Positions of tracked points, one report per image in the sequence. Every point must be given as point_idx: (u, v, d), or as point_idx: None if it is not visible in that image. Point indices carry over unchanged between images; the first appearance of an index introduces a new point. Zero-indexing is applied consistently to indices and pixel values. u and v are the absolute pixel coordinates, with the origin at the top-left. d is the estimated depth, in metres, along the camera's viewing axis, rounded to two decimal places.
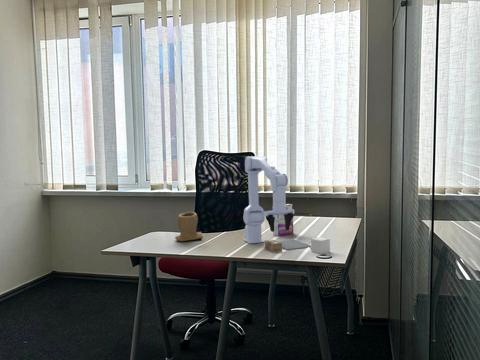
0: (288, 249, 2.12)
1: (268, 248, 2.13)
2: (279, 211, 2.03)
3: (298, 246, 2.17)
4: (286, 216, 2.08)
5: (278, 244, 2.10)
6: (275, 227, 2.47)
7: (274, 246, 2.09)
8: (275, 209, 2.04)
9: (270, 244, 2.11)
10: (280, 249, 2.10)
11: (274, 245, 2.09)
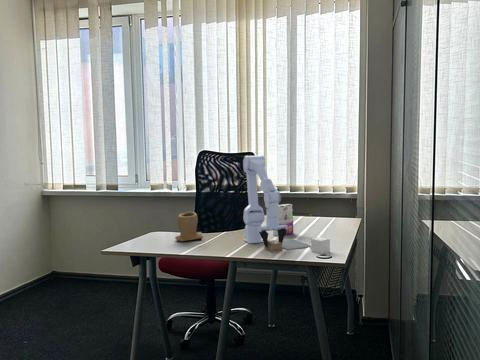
0: (288, 249, 2.12)
1: (268, 248, 2.13)
2: (272, 227, 2.10)
3: (298, 246, 2.17)
4: (279, 231, 2.15)
5: (278, 244, 2.09)
6: None
7: (274, 246, 2.09)
8: (268, 225, 2.11)
9: (270, 244, 2.11)
10: (280, 249, 2.10)
11: (274, 245, 2.09)
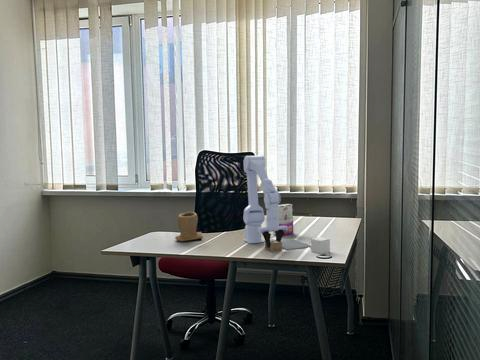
0: (288, 249, 2.12)
1: (268, 248, 2.13)
2: (272, 228, 2.10)
3: (298, 246, 2.17)
4: (277, 233, 2.14)
5: (278, 244, 2.09)
6: None
7: (274, 245, 2.09)
8: (268, 226, 2.11)
9: (270, 244, 2.11)
10: (280, 249, 2.10)
11: (274, 245, 2.09)
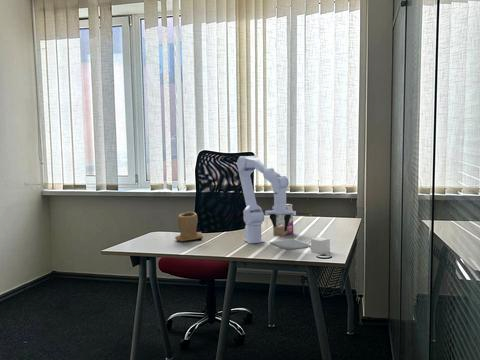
0: (288, 249, 2.12)
1: None
2: (276, 211, 2.14)
3: (298, 246, 2.17)
4: None
5: (279, 228, 2.13)
6: None
7: (274, 230, 2.13)
8: (274, 209, 2.16)
9: None
10: (281, 234, 2.12)
11: (275, 229, 2.13)
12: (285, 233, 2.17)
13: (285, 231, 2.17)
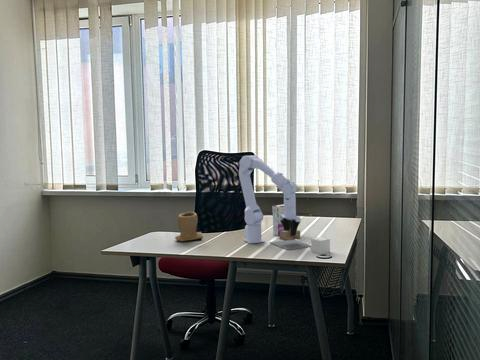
0: (288, 249, 2.12)
1: None
2: (283, 216, 2.22)
3: (298, 246, 2.17)
4: None
5: (283, 233, 2.20)
6: (275, 227, 2.47)
7: (280, 233, 2.22)
8: None
9: None
10: (284, 238, 2.19)
11: (280, 232, 2.22)
12: (293, 238, 2.21)
13: (293, 236, 2.21)
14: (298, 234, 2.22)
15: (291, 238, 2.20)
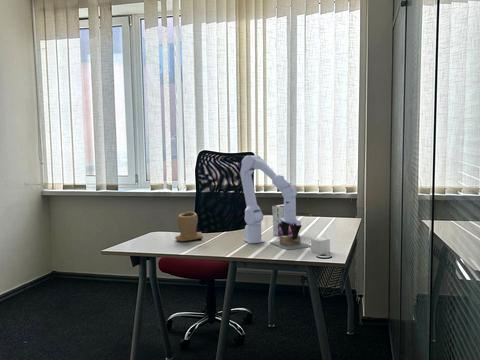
0: (288, 249, 2.12)
1: None
2: (283, 219, 2.22)
3: (298, 246, 2.17)
4: None
5: (282, 238, 2.20)
6: (275, 227, 2.47)
7: (280, 238, 2.22)
8: None
9: None
10: (284, 243, 2.19)
11: (280, 238, 2.22)
12: (293, 243, 2.21)
13: (293, 241, 2.21)
14: (298, 239, 2.22)
15: (291, 243, 2.20)
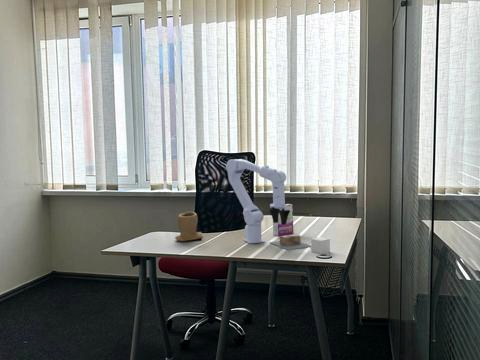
0: (288, 249, 2.12)
1: None
2: (272, 205, 2.24)
3: (298, 246, 2.17)
4: None
5: (282, 238, 2.20)
6: (275, 227, 2.47)
7: (280, 238, 2.22)
8: None
9: None
10: (284, 243, 2.19)
11: (280, 238, 2.22)
12: (293, 243, 2.21)
13: (293, 241, 2.21)
14: (298, 239, 2.22)
15: (291, 243, 2.20)
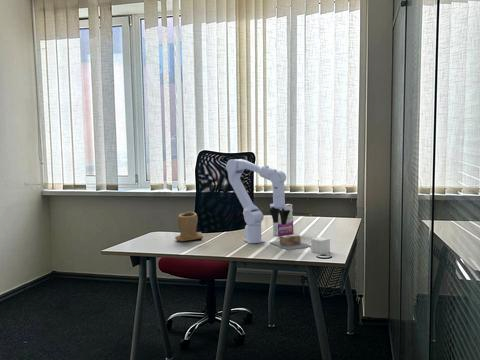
0: (288, 249, 2.12)
1: None
2: (272, 205, 2.24)
3: (298, 246, 2.17)
4: None
5: (282, 238, 2.20)
6: (275, 227, 2.47)
7: (280, 238, 2.22)
8: None
9: None
10: (284, 243, 2.19)
11: (280, 238, 2.22)
12: (293, 243, 2.21)
13: (293, 241, 2.21)
14: (298, 239, 2.22)
15: (291, 243, 2.20)
